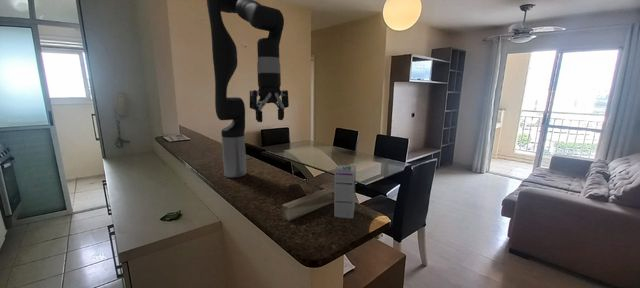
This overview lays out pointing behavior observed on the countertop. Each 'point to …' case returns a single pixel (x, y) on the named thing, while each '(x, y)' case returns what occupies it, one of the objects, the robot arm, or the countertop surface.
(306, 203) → the fence board
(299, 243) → the countertop surface
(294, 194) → the brick
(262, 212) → the countertop surface
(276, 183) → the countertop surface
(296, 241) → the countertop surface
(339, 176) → the syrup box
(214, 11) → the robot arm
